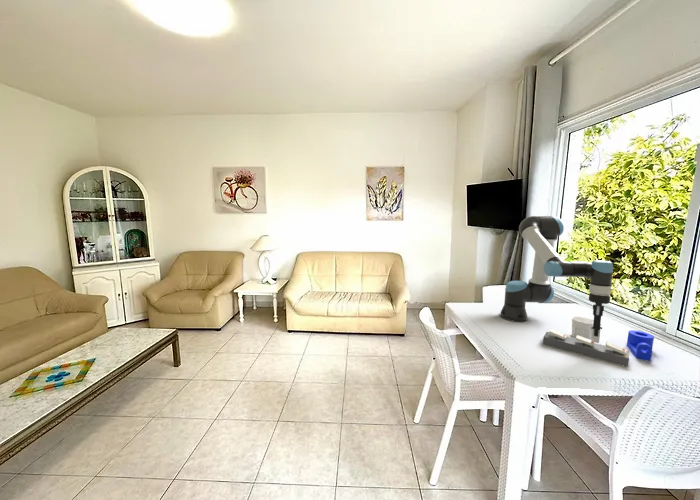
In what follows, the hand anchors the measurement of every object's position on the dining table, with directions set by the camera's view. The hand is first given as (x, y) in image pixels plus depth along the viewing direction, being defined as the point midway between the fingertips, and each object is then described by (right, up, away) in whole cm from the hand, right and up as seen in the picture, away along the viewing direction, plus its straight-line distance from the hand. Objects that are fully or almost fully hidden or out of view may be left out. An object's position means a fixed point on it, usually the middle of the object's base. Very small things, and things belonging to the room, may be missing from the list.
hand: (595, 341), depth 140 cm
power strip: (-3, -6, +4) cm, 8 cm away
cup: (+9, -4, +20) cm, 22 cm away
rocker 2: (-3, -1, +3) cm, 4 cm away
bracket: (+25, -7, +4) cm, 26 cm away
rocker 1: (-11, 0, +10) cm, 15 cm away
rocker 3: (+5, -2, -5) cm, 7 cm away
